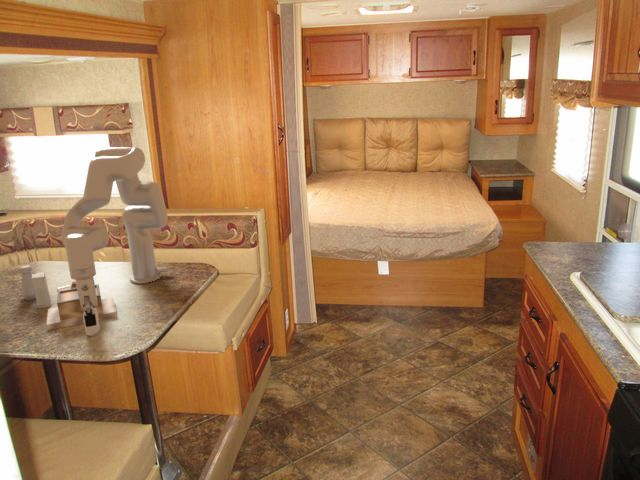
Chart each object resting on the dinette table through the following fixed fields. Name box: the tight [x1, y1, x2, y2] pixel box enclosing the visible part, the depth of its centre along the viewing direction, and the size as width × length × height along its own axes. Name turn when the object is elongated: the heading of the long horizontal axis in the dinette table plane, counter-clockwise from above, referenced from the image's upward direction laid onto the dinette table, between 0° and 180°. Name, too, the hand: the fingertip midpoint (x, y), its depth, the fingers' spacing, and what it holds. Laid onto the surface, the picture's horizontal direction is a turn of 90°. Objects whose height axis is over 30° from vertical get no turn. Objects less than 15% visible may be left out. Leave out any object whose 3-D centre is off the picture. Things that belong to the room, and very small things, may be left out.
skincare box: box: [31, 271, 52, 309], centre depth 193 cm, size 6×4×12 cm
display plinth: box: [46, 283, 118, 331], centre depth 183 cm, size 22×14×9 cm, turn 115°
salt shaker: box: [18, 264, 36, 301], centre depth 199 cm, size 6×6×13 cm
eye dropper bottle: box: [83, 304, 101, 337], centre depth 170 cm, size 4×6×12 cm
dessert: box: [56, 279, 77, 291], centre depth 207 cm, size 12×12×5 cm
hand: (90, 319), depth 170 cm, fingers open, 9 cm apart
